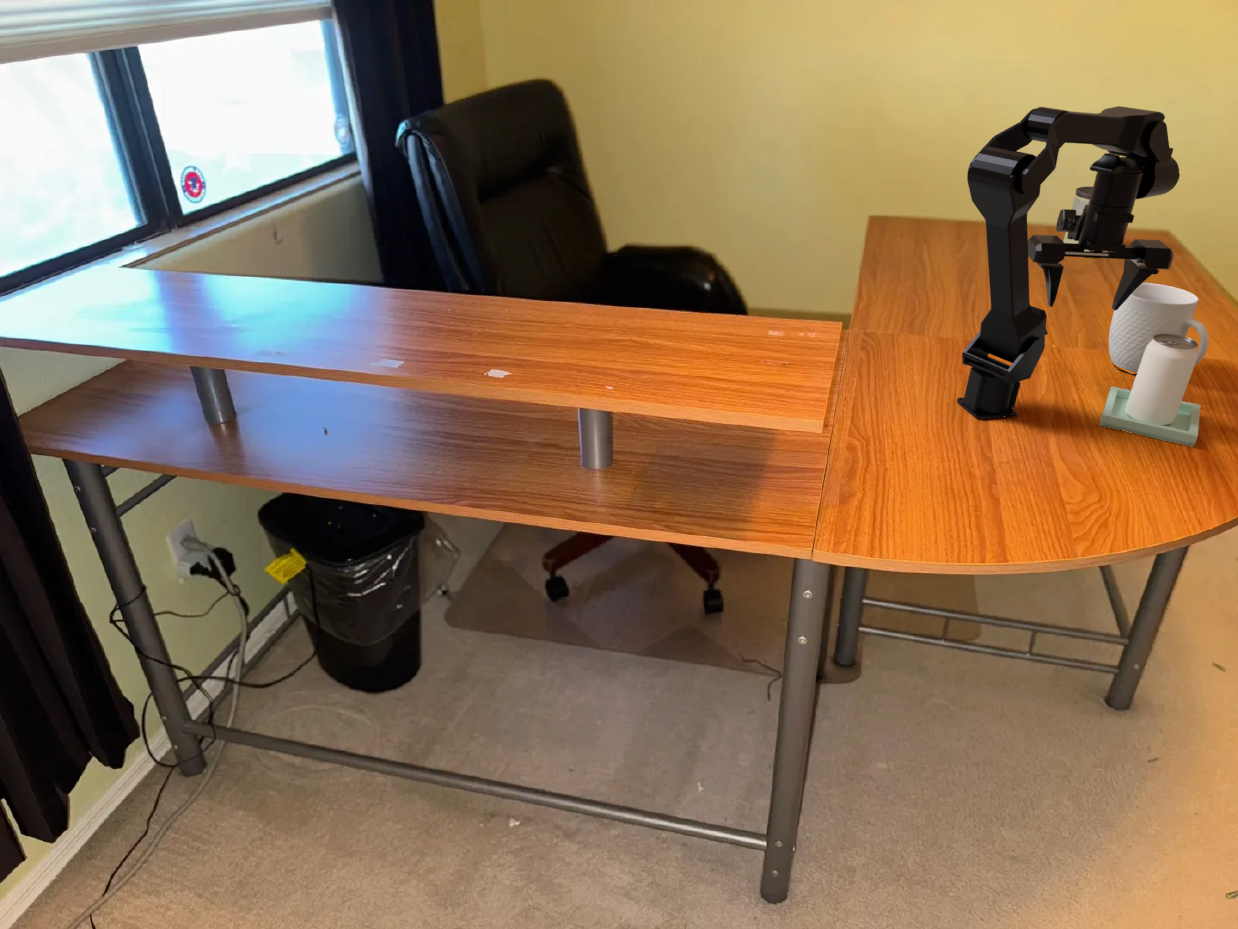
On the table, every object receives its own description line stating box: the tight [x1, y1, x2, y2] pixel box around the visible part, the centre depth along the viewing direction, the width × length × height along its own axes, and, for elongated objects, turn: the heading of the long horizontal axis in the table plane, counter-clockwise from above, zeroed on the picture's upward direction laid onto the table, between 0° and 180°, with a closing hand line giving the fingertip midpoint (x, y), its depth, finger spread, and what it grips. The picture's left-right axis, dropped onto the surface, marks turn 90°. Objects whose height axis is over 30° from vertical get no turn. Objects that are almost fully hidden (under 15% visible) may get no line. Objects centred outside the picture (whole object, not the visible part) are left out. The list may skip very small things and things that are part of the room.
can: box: [1125, 333, 1199, 426], centre depth 126 cm, size 6×6×12 cm
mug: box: [1108, 282, 1210, 373], centre depth 142 cm, size 15×11×13 cm
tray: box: [1098, 385, 1201, 448], centre depth 129 cm, size 12×12×2 cm
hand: (1081, 307), depth 133 cm, fingers open, 9 cm apart
